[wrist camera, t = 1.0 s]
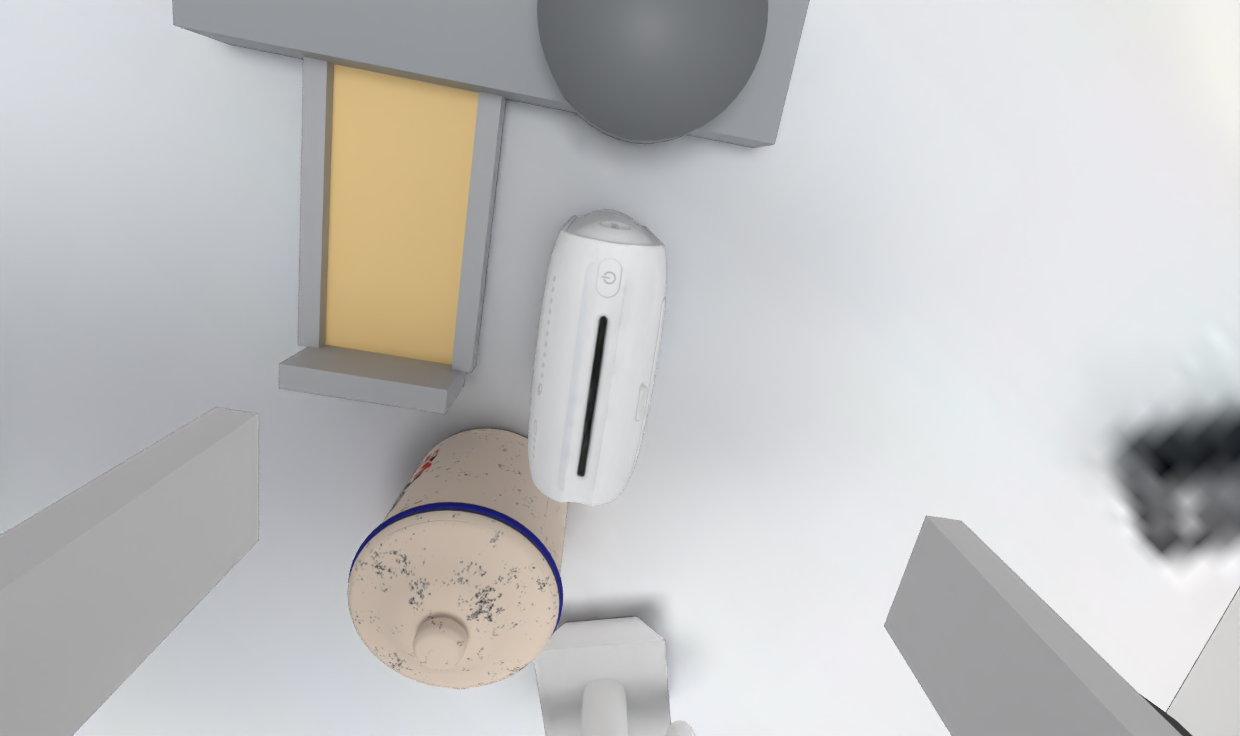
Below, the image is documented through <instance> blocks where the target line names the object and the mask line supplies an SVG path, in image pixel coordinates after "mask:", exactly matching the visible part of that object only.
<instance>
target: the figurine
mask: <svg viewBox="0 0 1240 736" xmlns="http://www.w3.org/2000/svg"><path fill="white" fill-rule="evenodd" d="M534 665H535V671H536V678H537V684H538V690H539V696H540V703H541V709H542V715H543V722H544V728H545V734H546V736H695V733H694V731H693V729H692V727H691V726H690V725H689V724H688V723H687V722H685V721H675V722H673V723H672V724H671V718H670V705H669V691H668V677H667V663H666V649H665V639H663V638H662V637H661V636H660V635H658V634H657V633H656V632H655V631H654V630H652V629H651V628H650V627H649V626H648V625H646V624H645V623H644V622H643V621H642V620H640V619H639V618H638V617H637V616H636V617H625V618H613V619H601V620H590V621H578V622H566V623H565V624H564V625H562V626H561V627H560V628H559V629H558V630H556V631H555V632H554V633H553V635H552V637H551V638H550V640H549V641H548V643H547V645H546V646H545V647H544V649H543V650H542V651H541V652H540V653H539V655H538V656H537V657H536V658H535V659H534Z"/></svg>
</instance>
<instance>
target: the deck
mask: <svg viewBox="0 0 1240 736" xmlns="http://www.w3.org/2000/svg"><path fill="white" fill-rule="evenodd" d="M809 1H810V0H172V3H173V25H175V26H178V27H181V28H184V29H187V30H189V31H192V32H195V33H198V34H201V35H204V36H207V37H210V38H212V39H215V40H218V41H221V42H224V43H227V44H230V45H235V46H240V47H245V48H250V49H255V50H261V51H266V52H271V53H276V54H281V55H286V56H291V57H296V58H301V59H303V95H302V149H301V204H300V259H299V313H298V345H301V346H308V347H307V348H305V349H303V350H302V351H300V352H298V353H297V354H295V355H293V356H291V357H290V358H288V359H286V360H285V361H283V362H281V363H279V389H285V390H292V391H298V392H305V393H311V394H318V395H324V396H331V397H337V398H344V399H350V400H356V401H363V402H369V403H376V404H382V405H389V406H395V407H402V408H408V409H415V410H421V411H428V412H434V413H441V414H445V413H446V412H447V410H448V409H449V407H450V406H451V404H452V403H453V401H454V400H455V398H456V397H457V395H458V394H459V392H460V391H461V389H462V388H463V386H464V381H465V372H470V373H471V372H472V371H473V369H474V368H475V366H476V361H477V352H478V343H479V334H480V325H481V316H482V307H483V299H484V290H485V281H486V272H487V263H488V254H489V246H490V237H491V228H492V219H493V210H494V201H495V192H496V184H497V175H498V166H499V157H500V148H501V139H502V131H503V122H504V113H505V104H506V99H509V100H514V101H519V102H524V103H529V104H534V105H539V106H544V107H549V108H554V109H559V110H565V111H570V112H575V113H578V114H579V115H580V116H581V117H582V118H583V119H584V120H585V121H586V122H588V123H589V124H590V125H591V126H593V127H594V128H596V129H598V130H599V131H601V132H603V133H604V134H607V135H609V136H611V137H614V138H616V139H620V140H623V141H627V142H634V143H658V142H665V141H669V140H672V139H675V138H679V137H681V136H683V135H685V134H686V135H691V136H696V137H701V138H706V139H711V140H717V141H722V142H727V143H732V144H737V145H742V146H747V147H752V148H756V147H762V146H767V145H773V144H775V140H776V136H777V132H778V128H779V124H780V120H781V116H782V112H783V107H784V103H785V99H786V95H787V91H788V87H789V83H790V79H791V75H792V70H793V66H794V62H795V58H796V54H797V50H798V46H799V42H800V38H801V33H802V29H803V25H804V21H805V17H806V13H807V9H808V5H809Z"/></svg>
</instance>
